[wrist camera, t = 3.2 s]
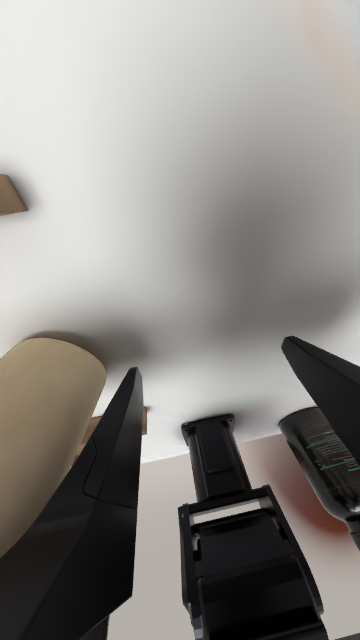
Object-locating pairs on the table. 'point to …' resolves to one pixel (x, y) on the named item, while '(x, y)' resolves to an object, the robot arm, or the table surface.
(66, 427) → the candle
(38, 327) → the table surface
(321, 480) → the supplement bottle
